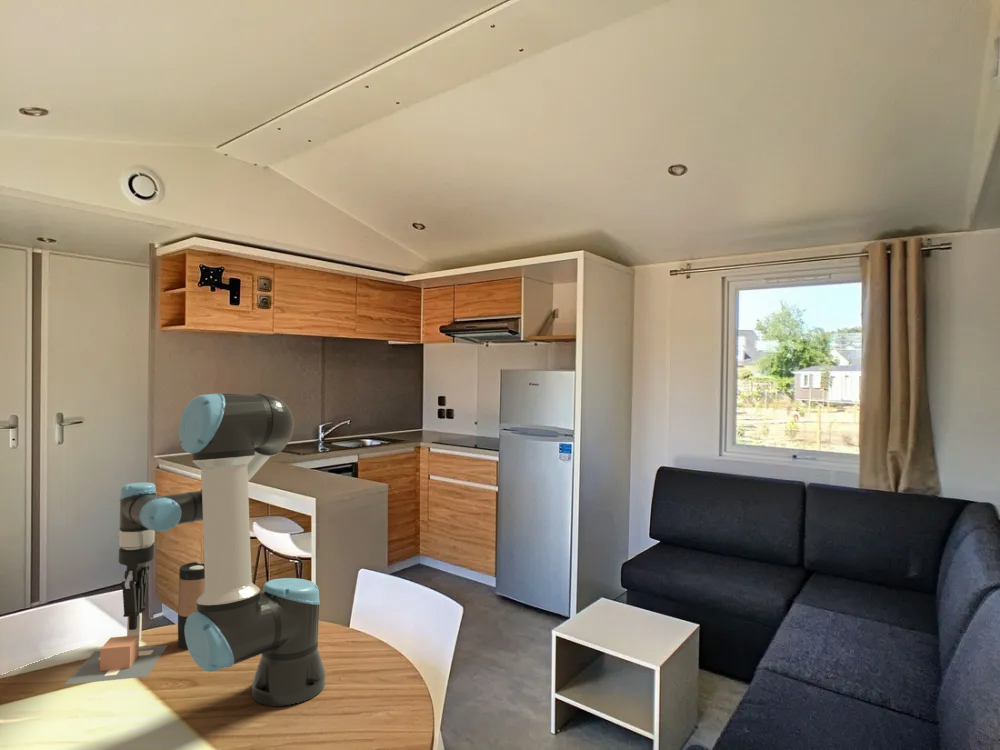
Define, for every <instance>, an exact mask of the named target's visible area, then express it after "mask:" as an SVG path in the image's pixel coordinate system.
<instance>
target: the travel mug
mask: <svg viewBox="0 0 1000 750" xmlns="http://www.w3.org/2000/svg"><path fill="white" fill-rule="evenodd" d="M178 576H179V578H178V598H177V599H178V600H177V602H178V603H177V647H178V648H179V649H182V650H188V647H187V644H186V640H185V631H184V629H185V623H186V620H187V618H188V616H189V615H191V614H192V613H194V612H197V599H198V598H199V597H200V596H201V594H202V593H203V592H204V590H205V572H204V563H198V562H196V561H192V562H188V563H185V564H182V565H181V566H179V575H178Z"/></svg>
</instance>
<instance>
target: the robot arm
mask: <svg viewBox="0 0 1000 750" xmlns="http://www.w3.org/2000/svg"><path fill="white" fill-rule="evenodd" d="M294 420H295V419H294V416H293V412H292V411H291V409H290V408H289V406H288V405H287V404H286V403H285V401H283V400H282V399H280V398H279V397H277V396H275V395H272V394H266V393H218V392H217V393H207V394H200V395H197V396H195V397H193V398H192V399H191V400H190V401H189V402H188V403H187V404H186V406H185V408H184V410H183V413H182V415H181V418H180V422H179V428H178V436H179V438H178V439H179V442H180V443H181V444H180V447H181V448H182V450H184V452H186V453H188V454H191V455H192V463H194V464H195V466H196V467H198V468H200V470H201V489H200V490H196V491H190V492H189V491H188V492H182V493H174V494H168V495H167V494H165V495H157V494H158V493H157V488H156V487H157V486H156V484H155V483H153V482H146V481H145V482H143V481H142V482H140V481H139V482H132V483H127V484H124V485H123V486H122V487H121V489H120V496H119V497H120V498H119V532H118V533H117V534H116V535H117V537H118V538H119V539H118V540H119V541H118V542H119V544H118V545H119V547H120V548H118V564H120V565H122V566H126V570H125V571H124V577H123V578H124V580H122V581H121V584H120V586H121V589H122V600H123V602H122V603H123V617H124V618H126V617H127V623H126V624H127V629H126V631H127V632H126V636H135V635H139V642H140V641H141V639H142V625H143V623H142V622H143V621H142V620H143V612H144V613H145V612H146V611H147V607H145V606H146V598H147V591H148V590H147V589H148V580H149V579H148V578H149V573H150V569H151V568H150V565H147V563H149V562H152V560H154V558H155V545H154V544H155V534H156V533H155V532H166V531H169V530H171V529H173V528H174V527H176V526H178V525H179V526H180V525H184V524H185V525H186V524H189V523H195V522H201V521H202V533H203V562H204V563H203V564H204V572H205V590H204V592H203V593H202V594H201V596H200V597H199V598H198V599H197V612H194V613H192V614H191V615H189V616H188V618H187V620H186V623H185V629H184V631H185V640H186V644H187V647H188V649H187V650H188V652H189V654H190V655H189V656H190V657H191V659H192V660H193V662H194V663H195V664H196V666H197V667H199V668H200V669H201V670H203V671H205V672H208V673H209V672H210V673H212V672H216V671H219V670H222V669H225V668H231V667H233V666H234V665H236V664H239V663H243V662H244V661H247V660H250V659H253V658H255V657H257V656H260V655H261V657H260V659H259V662H258V665H257V668H256V671H255V674H254V677H253V680H252V684H251V685H252V686H251V696H252V698H253V700H254V701H256V702H257V703H259V704H261V705H264V706H269V707H270V706H271V707H285V705H287V706H292V705H291V704H293V705H296V704H295V703H297V704H300V702H301V703H303V701H304V702H307V701H308V700H310V699H312V698H315V696H317V695H319V694H320V693H321V692H322V690H324V688H325V686H326V670H325V667H324V663H323V660H322V657H321V655H320V652H319V619H320V617H319V616H320V615H319V613H320V604H321V601H320V590H319V587H318V585H317V584H316V583H315V582H313V581H311V580H308V579H304V578H303V579H302V578H298V577H297V578H295V577H282V578H275V579H271V580H270V579H269V580H267V581H266V582H265V583H264V584H263V587H262V591H263V592H261V589H260V587H258V586H257V585H256V584H254V583H253V580H252V558H251V557H252V556H251V551H252V550H251V531H250V527H251V526H250V500H249V481H251V479H252V478H253V477H254V475H255V474H256V473H258V471H260V469H261V468H262V467H263V466H264V465H265V463H266V462H267V461H268V460H269V459H270V458H271V457H274V456H276V455H278V454H280V453H281V452H282V451H283V450H284V449H285V448H286V446H287V445H288V444H289V442H290V441H291V439H292V437H293V435H294V428H295V421H294ZM144 607H145V608H144Z"/></svg>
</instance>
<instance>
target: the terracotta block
mask: <svg viewBox="0 0 1000 750" xmlns="http://www.w3.org/2000/svg"><path fill="white" fill-rule="evenodd" d="M139 648H140V641H139V635H135V636H127V635H125V636H115V637H113V636H111V637H109V638H108V639H107V641H106V642H105V643H104V644H103V646H101V647H100V650H99V651H100V671H105V670H115V669H125V668H130V667H131V666H132V664H133V663H134V662H135V660H136V659H137V658H138V656H139Z"/></svg>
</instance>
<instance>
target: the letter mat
mask: <svg viewBox="0 0 1000 750" xmlns="http://www.w3.org/2000/svg"><path fill="white" fill-rule="evenodd" d="M168 646H169V645H168V644H165V645H164V644H163V645H154V646H153V645H152V646H151V645H150V646H142V647H140V646H139V656H138V658H137V659H136V660H135V662H134V663H133V664H132V666H131V667H130V668H125V669H115V670H105V671H100V650H95V651H93V653H91V655H90V656H89V657H87V659H86V660H85V662H84V663H82V665H80V667H79V668H78V669H77V670H76V671H75V672H74V673H72V675H71V677H70V678H68V679H67V680H66V682H65V683H64V685H66V686H67V685H76V684H87V683H95V682H105V681H115V680H118V681H119V680H126V679H127V680H129V679H134V678H136V679H137V678H146V677H148V675H149V674H150V673H151V671H152V669H154V667H155V665H156V663H158V661H159V659H160V658H161V656H162V655H163V653H164V652H165V650H166V649H167V648H168Z"/></svg>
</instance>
